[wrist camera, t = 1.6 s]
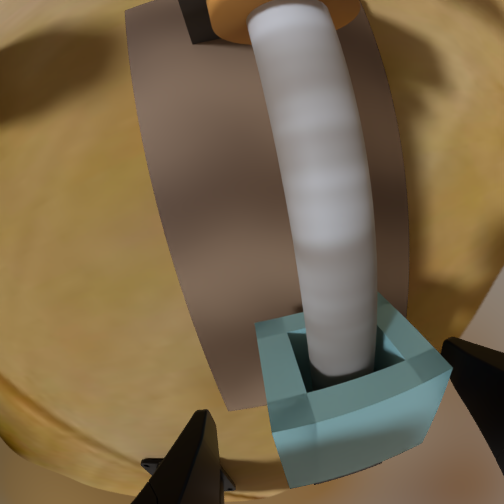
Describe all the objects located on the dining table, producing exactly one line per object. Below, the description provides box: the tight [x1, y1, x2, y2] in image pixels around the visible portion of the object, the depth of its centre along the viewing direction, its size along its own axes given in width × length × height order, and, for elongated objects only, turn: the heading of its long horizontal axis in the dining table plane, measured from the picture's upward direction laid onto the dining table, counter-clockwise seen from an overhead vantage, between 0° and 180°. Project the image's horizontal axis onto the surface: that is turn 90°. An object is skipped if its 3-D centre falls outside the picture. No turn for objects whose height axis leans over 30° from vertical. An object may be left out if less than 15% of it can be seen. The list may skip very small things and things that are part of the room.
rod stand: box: [125, 0, 409, 485], centre depth 8 cm, size 20×10×7 cm, turn 12°
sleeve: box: [255, 292, 453, 489], centre depth 8 cm, size 4×5×5 cm
